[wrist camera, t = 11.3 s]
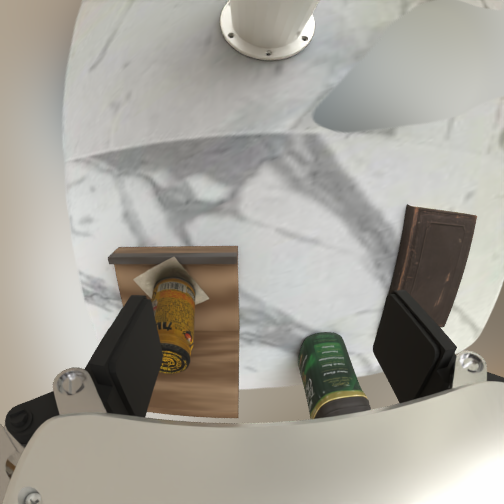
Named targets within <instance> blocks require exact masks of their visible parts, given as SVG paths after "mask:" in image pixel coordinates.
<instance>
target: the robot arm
mask: <svg viewBox="0 0 504 504" xmlns="http://www.w3.org/2000/svg"><path fill="white" fill-rule="evenodd" d="M319 1H320V0H229V1H228V2H227V3H226V5H225V6H224V8H223V10H222V12H221V16H220V27H221V31H222V34H223V36H224V38H225V39H226V41H227V42H228V43H229V44H230V45H231V46H232V47H233V48H234V49H235V50H237V51H239V52H240V53H242V54H244V55H246V56H249V57H252V58H256V59H260V60H280V59H285V58H289V57H291V56H293V55H296V54H297V53H299V52H300V51H302V50H303V49H304V48H305V47H306V46H307V45H308V44H309V42H310V41H311V39H312V37H313V35H314V31H315V20H314V17H313V14H312V13H313V12H314V10H315V8H316V7H317V5H318V3H319ZM231 36H232V37H233V38H230V37H231ZM302 39H304V40H305V41H303V40H302ZM266 54H270V56H267V55H266ZM456 348H457V347H456V346H455V344H454V343H453V342H452V341H451V340H450V338H449V337H448V336H447V335H446V334H445V333H444V331H443V330H442V329H441V328H440V327H439V326H438V325H437V324H436V322H435V321H434V320H433V319H432V318H431V317H430V316H429V315H428V314H427V312H426V311H425V310H424V309H423V308H422V307H421V306H420V305H419V304H418V303H417V302H416V301H415V300H414V298H413V297H412V296H411V295H410V294H409V293H408V292H407V291H406V290H395V291H392V292H391V293H390V294H389V295H388V296H387V298H386V302H385V306H384V310H383V314H382V318H381V321H380V325H379V328H378V332H377V335H376V338H375V342H374V345H373V352H374V355H375V357H376V358H377V360H378V362H379V364H380V366H381V368H382V370H383V371H384V373H385V375H386V377H387V379H388V381H389V383H390V385H391V387H392V389H393V391H394V393H395V395H396V397H397V399H398V401H399V404H395V405H392V406H387V407H383V408H378V409H374V410H368V411H363V412H358V413H352V414H346V415H340V416H333V417H326V418H318V419H310V420H300V421H289V422H273V423H236V424H235V423H234V424H233V423H201V422H186V421H173V420H162V419H153V418H145V416H146V413H147V409H148V406H149V403H150V399H151V396H152V393H153V389H154V386H155V383H156V380H157V376H158V373H159V370H160V367H161V364H162V361H163V351H162V347H161V343H160V339H159V334H158V330H157V325H156V321H155V316H154V311H153V306H152V301H151V300H150V299H147V297H146V296H145V295H131V296H130V297H129V299H128V300H127V302H126V304H125V305H124V307H123V308H122V310H121V311H120V313H119V314H118V316H117V317H116V319H115V321H114V322H113V324H112V325H111V327H110V328H109V329H108V331H107V332H106V334H105V336H104V337H103V339H102V340H101V342H100V344H99V345H98V347H97V349H96V350H95V352H94V354H93V355H92V357H91V359H90V361H89V362H88V364H87V366H86V368H85V369H82V368H69V369H66V370H64V371H62V372H61V373H60V374H58V375H57V376H56V378H55V379H54V382H53V392H50V393H48V394H45V395H43V396H40V397H38V398H35V399H33V400H30V401H27V402H25V403H22V404H20V405H17V406H15V407H13V408H12V409H11V410H10V411H9V412H8V414H7V416H6V420H5V426H4V427H3V426H2V425H1V424H0V504H504V378H503V377H500V376H497V375H495V374H491V373H489V372H487V366H486V362H485V361H484V359H483V358H482V357H481V356H480V355H478V354H477V353H474V352H472V351H462V352H460V353H459V354H458V355H457V356H456V355H455V350H456Z"/></svg>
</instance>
